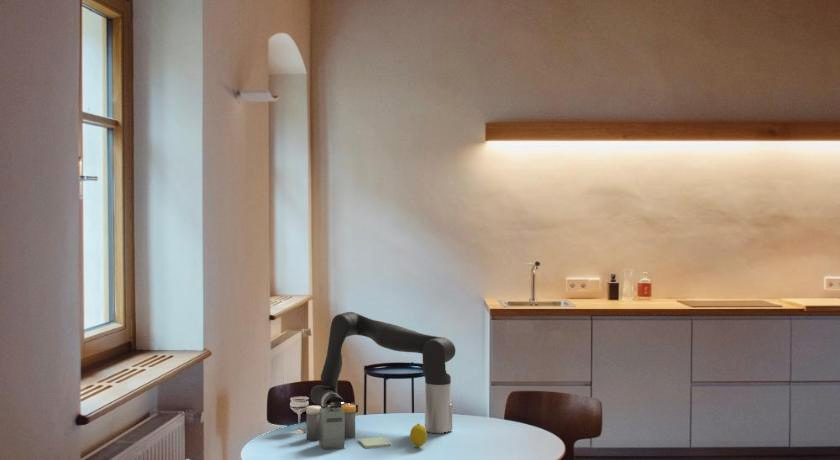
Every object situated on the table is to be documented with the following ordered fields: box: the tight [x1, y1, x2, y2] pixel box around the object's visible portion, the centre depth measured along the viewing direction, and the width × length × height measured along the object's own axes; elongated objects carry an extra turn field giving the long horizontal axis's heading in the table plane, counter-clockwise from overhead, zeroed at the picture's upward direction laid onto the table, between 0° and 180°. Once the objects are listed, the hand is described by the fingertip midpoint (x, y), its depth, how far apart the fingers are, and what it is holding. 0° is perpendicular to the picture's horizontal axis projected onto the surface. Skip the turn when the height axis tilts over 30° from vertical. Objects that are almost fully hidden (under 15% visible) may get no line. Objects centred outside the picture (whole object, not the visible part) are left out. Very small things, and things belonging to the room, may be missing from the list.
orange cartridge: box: [341, 403, 357, 440], centre depth 272 cm, size 5×5×11 cm
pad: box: [358, 436, 392, 449], centre depth 263 cm, size 9×9×1 cm
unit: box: [318, 407, 346, 451], centre depth 260 cm, size 7×8×13 cm
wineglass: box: [289, 396, 310, 435], centre depth 278 cm, size 7×7×12 cm
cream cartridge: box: [305, 405, 321, 442], centre depth 269 cm, size 5×5×11 cm
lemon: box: [409, 423, 428, 449], centre depth 259 cm, size 6×6×8 cm
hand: (342, 412), depth 281 cm, fingers open, 8 cm apart
